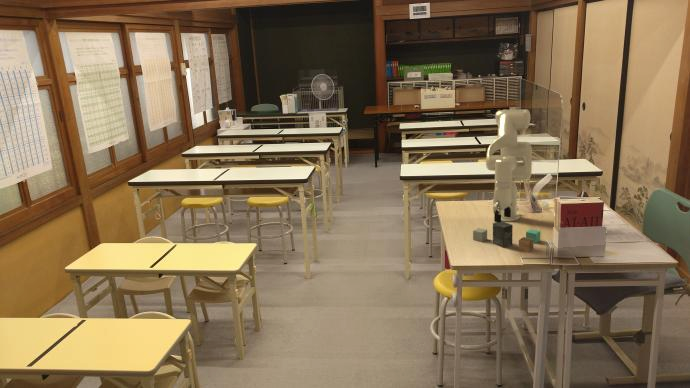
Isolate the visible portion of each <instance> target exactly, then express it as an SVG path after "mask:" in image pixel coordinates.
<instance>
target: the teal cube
mask: <svg viewBox="0 0 690 388" xmlns="http://www.w3.org/2000/svg"><path fill="white" fill-rule="evenodd" d="M525 237H526V238H531V239H534V244H537V243H539V242H540V241H541V230H538V229H533V228H530V229H528V230H527V231H526V232H525Z"/></svg>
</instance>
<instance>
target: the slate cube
mask: <svg viewBox="0 0 690 388" xmlns="http://www.w3.org/2000/svg"><path fill="white" fill-rule="evenodd" d="M472 240H473V241H476V242H481V243H482V242H485V241H486V240H488V229H485V228H480V227H477V228H475V229H473V230H472Z"/></svg>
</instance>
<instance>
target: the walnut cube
mask: <svg viewBox="0 0 690 388" xmlns="http://www.w3.org/2000/svg"><path fill="white" fill-rule="evenodd" d="M534 244H535V243H534V239H531V238H526V236H524V237H522V238H520V239H519V240H518V251H520V252H521V251H522V252H526V253H530V252H531V251H533V250H534Z"/></svg>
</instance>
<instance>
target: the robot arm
mask: <svg viewBox="0 0 690 388" xmlns="http://www.w3.org/2000/svg"><path fill="white" fill-rule="evenodd" d="M495 122H496V124H497V128H498V129H497V138H495V139H494V140H493V141H492V142H491V143H490V144H489V146H488V148H487V150H486V156H485V157H486V158H485V166H486V169H487V170H488V171H491V172H492V171H493V172H494V191H493V199H492V211H493V215H494V216H493V221H494V223H495V222H499V223H500V222H501V221H503V222H515V221H518V220H519V219H520V215H519V214H517V213H518V211H519V210H520V208H519V207H518V206H517V205H518V203H517V202H518V188H517V187H518V186H517V185H516V183H515V182H514V181H528V180H530V179H531V177H532V170H533V169H532V167H533V165H532V164H533V163H532V161H533V160H532V158H533V148H532V145H531V143H530V142H529V141H519V140H518V131H517V130H527V129H528V128H529V126H530V122H531V113H530V111H529V109H502V110H501V109H500V110H498V111H496V112H495ZM499 150H500V154H495V152H497V151H499ZM518 160H519V161H518ZM520 160H521V162H520Z"/></svg>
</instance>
